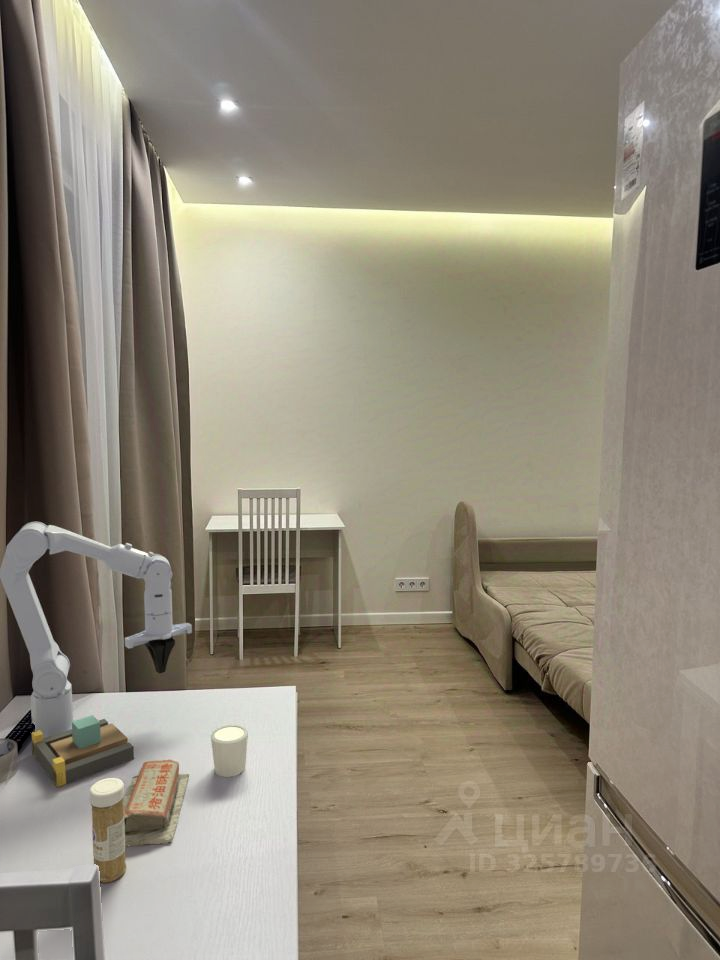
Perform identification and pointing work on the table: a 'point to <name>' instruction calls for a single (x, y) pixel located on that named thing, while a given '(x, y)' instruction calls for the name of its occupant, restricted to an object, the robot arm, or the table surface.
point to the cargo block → (86, 731)
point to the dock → (79, 768)
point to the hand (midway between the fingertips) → (160, 671)
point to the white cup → (229, 750)
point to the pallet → (72, 753)
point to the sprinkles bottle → (108, 828)
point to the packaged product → (154, 803)
